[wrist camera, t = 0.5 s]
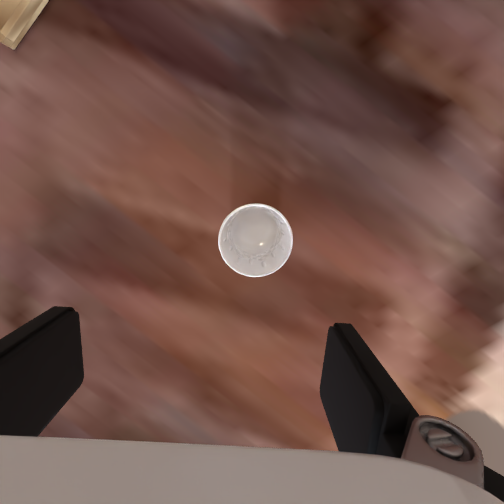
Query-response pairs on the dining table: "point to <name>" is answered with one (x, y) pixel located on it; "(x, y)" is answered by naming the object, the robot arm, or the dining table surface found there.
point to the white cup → (255, 240)
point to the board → (18, 19)
